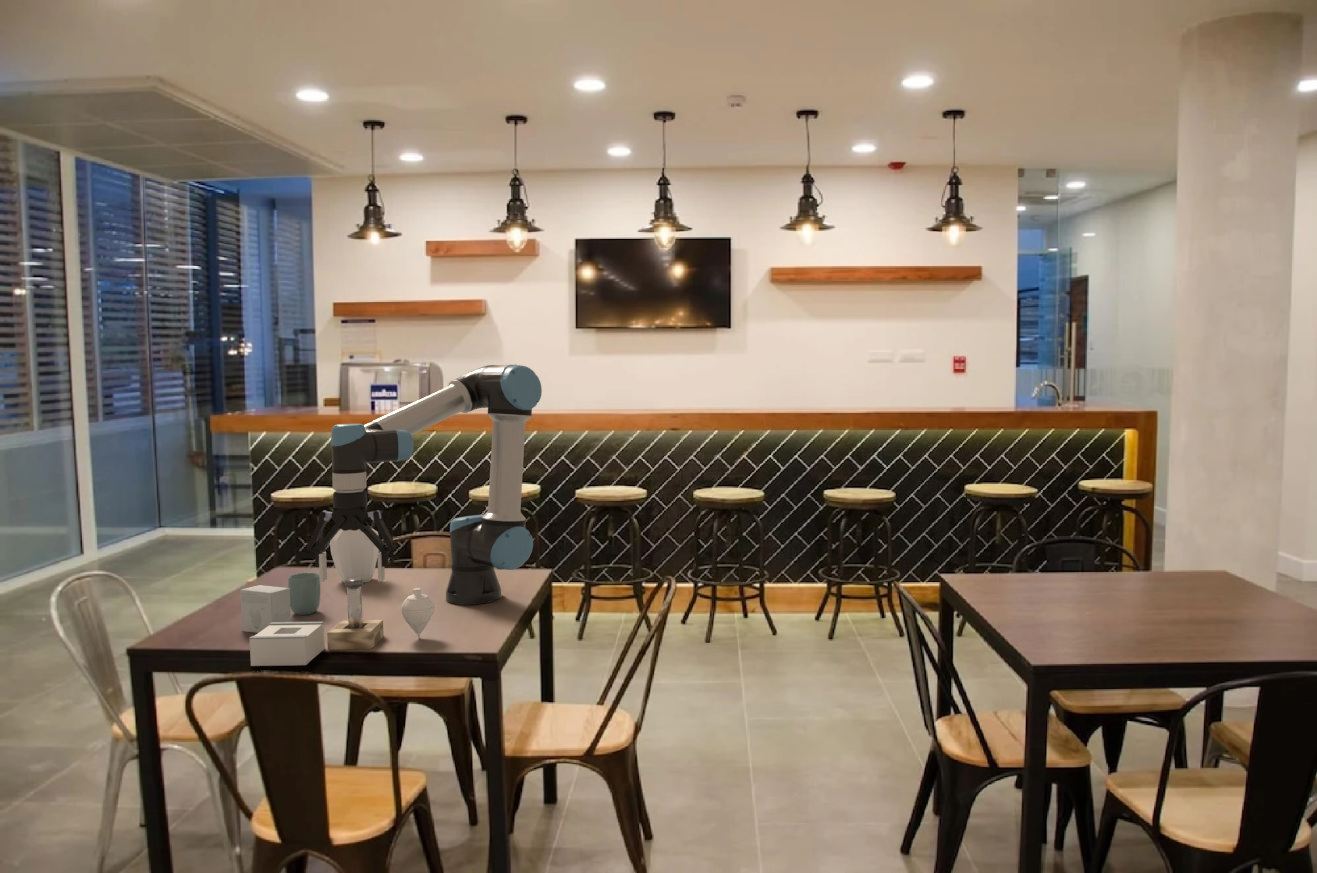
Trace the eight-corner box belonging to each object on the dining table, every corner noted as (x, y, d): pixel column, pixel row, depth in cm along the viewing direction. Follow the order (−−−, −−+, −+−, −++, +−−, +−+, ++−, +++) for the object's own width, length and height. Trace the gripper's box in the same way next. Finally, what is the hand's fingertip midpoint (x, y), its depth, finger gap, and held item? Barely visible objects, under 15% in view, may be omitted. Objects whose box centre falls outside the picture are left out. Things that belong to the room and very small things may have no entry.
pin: (367, 639, 224) (364, 577, 223) (362, 645, 220) (359, 581, 219) (350, 640, 224) (347, 578, 223) (345, 645, 220) (342, 582, 219)
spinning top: (409, 632, 229) (407, 584, 228) (439, 633, 228) (438, 584, 227) (397, 642, 222) (395, 592, 221) (428, 643, 221) (427, 592, 220)
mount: (383, 635, 227) (383, 619, 227) (371, 648, 217) (370, 631, 217) (342, 636, 227) (341, 620, 227) (327, 649, 217) (327, 632, 217)
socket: (324, 648, 218) (323, 621, 217) (305, 665, 206) (304, 636, 206) (273, 648, 218) (271, 622, 217) (250, 665, 206) (249, 637, 206)
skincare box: (292, 628, 235) (290, 587, 234) (272, 635, 229) (270, 593, 228) (261, 624, 239) (259, 583, 238) (240, 631, 233) (238, 589, 232)
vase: (390, 577, 288) (387, 496, 286) (358, 588, 275) (354, 503, 273) (354, 573, 294) (350, 494, 292) (320, 583, 281) (317, 501, 279)
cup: (310, 617, 244) (308, 579, 243) (283, 616, 246) (281, 578, 245) (326, 609, 252) (325, 572, 251) (300, 608, 253) (298, 572, 253)
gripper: (407, 488, 223) (409, 576, 224) (302, 488, 223) (305, 577, 224) (399, 492, 215) (401, 583, 217) (289, 492, 215) (292, 584, 217)
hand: (352, 580), depth 221 cm, fingers open, 13 cm apart
